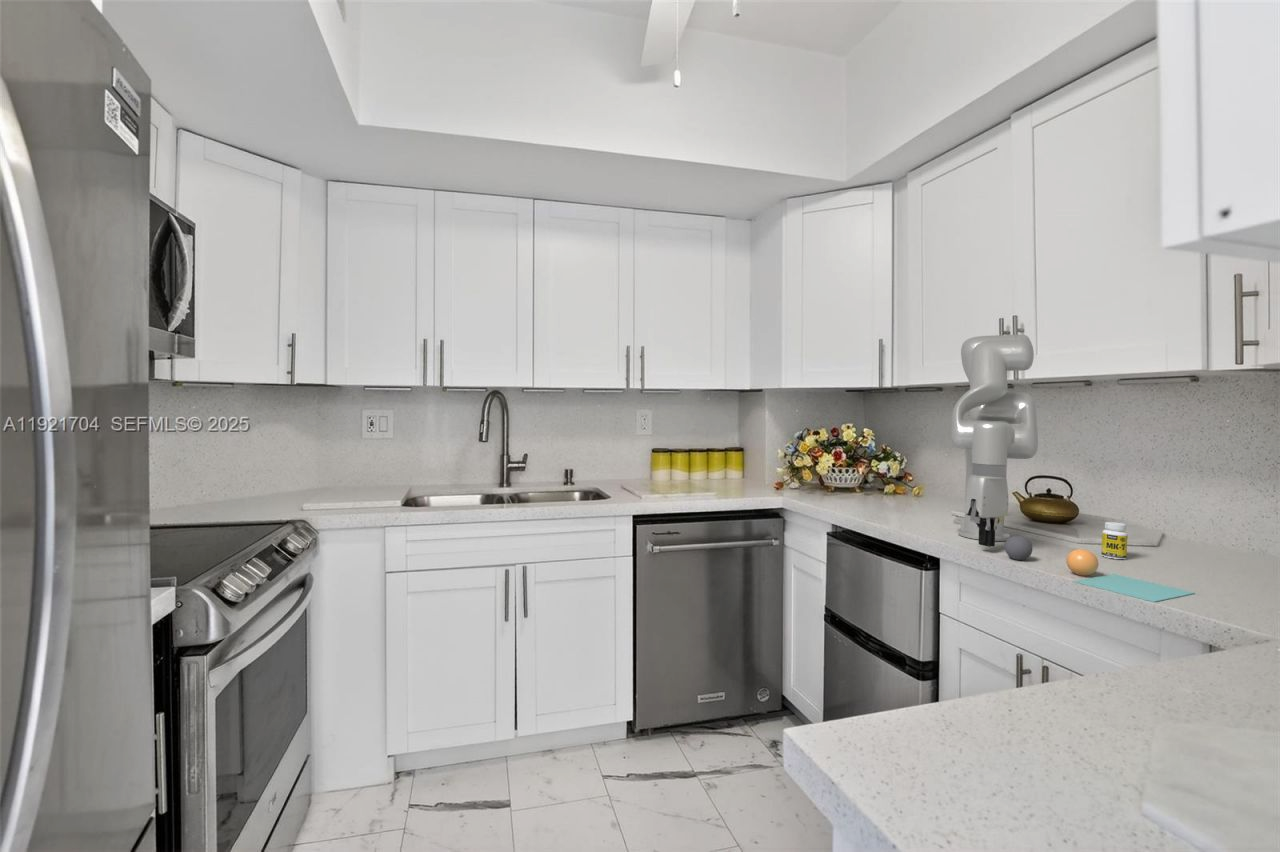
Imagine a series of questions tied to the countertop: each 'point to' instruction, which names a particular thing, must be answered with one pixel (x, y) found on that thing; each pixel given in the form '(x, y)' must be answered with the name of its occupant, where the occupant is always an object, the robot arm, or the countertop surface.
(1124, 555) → the supplement bottle
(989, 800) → the countertop surface
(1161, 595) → the teal mark
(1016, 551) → the grey egg-shaped ball
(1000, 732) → the countertop surface
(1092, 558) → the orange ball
